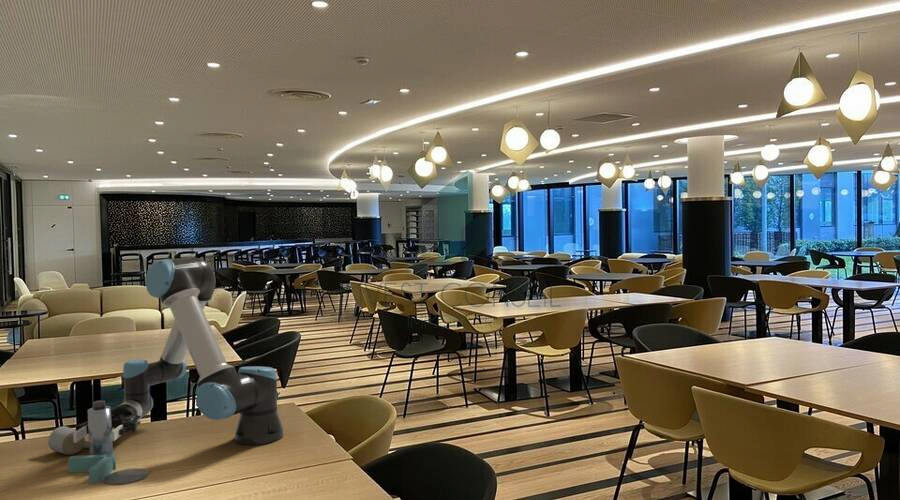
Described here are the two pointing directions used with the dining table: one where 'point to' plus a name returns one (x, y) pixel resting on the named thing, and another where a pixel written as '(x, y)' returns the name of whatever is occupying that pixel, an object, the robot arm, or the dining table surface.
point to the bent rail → (93, 466)
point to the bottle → (100, 429)
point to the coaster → (126, 476)
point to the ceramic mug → (65, 441)
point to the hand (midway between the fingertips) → (93, 436)
